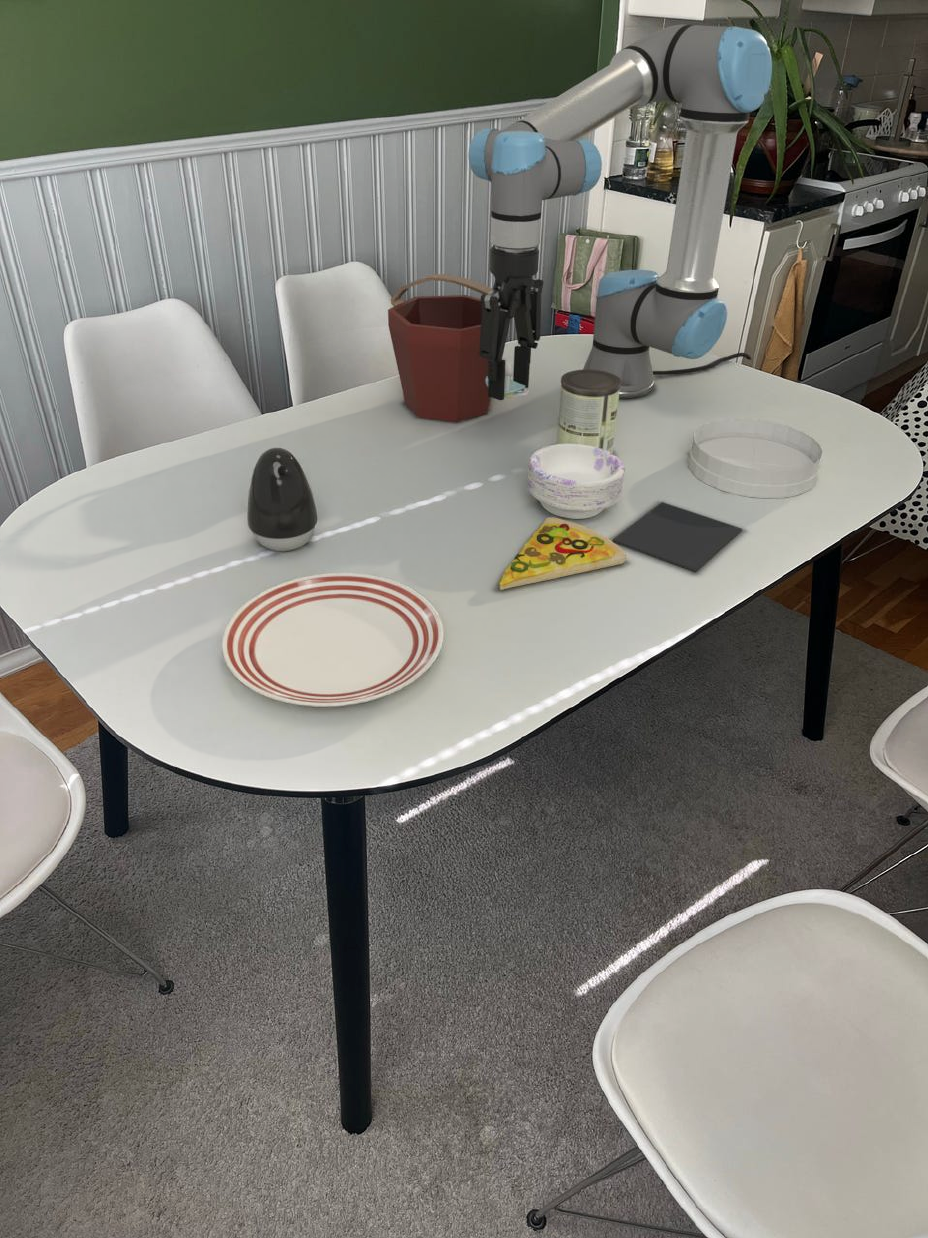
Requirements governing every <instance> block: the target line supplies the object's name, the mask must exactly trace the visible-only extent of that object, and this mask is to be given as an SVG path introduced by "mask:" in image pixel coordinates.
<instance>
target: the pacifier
mask: <svg viewBox="0 0 928 1238" xmlns="http://www.w3.org/2000/svg"><path fill="white" fill-rule="evenodd" d="M502 360H505V384H504V398H514V397H524V396H525V397H526V396H527V395H528V394H529V389H528V388H525V385H522V384H519V383H517V382H514V381H513V379H511V377H512V376H513V370H514V369H513V366H512V363H511V362H510V361H509V360H508V359H507V358H505V357H502ZM486 385H487V386H488V376H487V377H486Z"/></svg>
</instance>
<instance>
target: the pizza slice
mask: <svg viewBox="0 0 928 1238" xmlns="http://www.w3.org/2000/svg"><path fill="white" fill-rule="evenodd" d="M626 559H627V554H626V552H625V551H624V550H623V549H622V548H621V546H619V545H618V544H617V543H615V542H613V540H611V539H609V538H607V537H606V536H605V535H603V534H601V533H599V532H597V531H595V530H594V529H592V528H589V527H588V526H585V525H582V524H579V523H577V522H573V521H570V520H566V519H562V518H559V517H553V516H549V517H546V518H545V519H544V521H543V522H542V524H541V525H540V526H539V528H538V529H537V530H536V531H535V532H534V533H533V535H532V536H531V537H530V539H529V540H527V541H526V543H525V544H524V545H523V547H522V548H521V549H520V551H519V553H518V554H516V555H515V557H514V559H513V560H512V561H511V562H510V564H509V565H508V566H507V567H506V569H505V570H504V572H503V575H502V577H501V579H500V581H499V589H500V591H502V590H507V589H512V588H517V587H521V586H525V585H529V584H530V585H531V584H535V583H539V582H540V583H541V582H545V581H550V580H555V579H559V578H563V577H568V576H572V575H577V574H580V573H586V572H590V571H594V570H599V569H605V568H609V567H612V566H618V565H622V564H624V563H625V562H626Z"/></svg>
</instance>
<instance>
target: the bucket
mask: <svg viewBox="0 0 928 1238" xmlns="http://www.w3.org/2000/svg"><path fill="white" fill-rule="evenodd" d="M430 281H435V282H446V283H453V284H456V285H459V286H462V287H465V288H467V289H470V290H472V291H474V292H477V293H478V294H479V293H480V294H481V295H482V294H486V295H489V294H490V293H491V292H492V291H493V287H491V286H487V285H485V284H482V283H480V282H477V281H475V280H472V279H469V278H466V277H462V276H457V275H451V274H446V273H444V274H443V273H434V274H430V275H427V276H424V277H421V278H418V279H416V280H413V281H412V282H409V283H407V284H404V285H403V286H400V287H399V289H397V291H396V292H395V293H394V294H393V296H392V297H391V298H390V303H391V305H392V306H393V307H390V308H389V309H387V320H388V321H387V322H388V324H387V325H388V331H389V334H390V340H391V344H392V349H393V353H394V357H395V363H396V367H397V371H398V376H399V381H400V385H401V389H402V390H401V391H402V394H403V400H404V404H405V405H406V406H407V407H408V408H409V409H410V410H411V411H412V412H413V413H414V414H415V415H416V416H417V417H418V418H420V419H428V420H437V421H445V422H450V423H458V422H462V421H465V420H470V419H473V418H477V417H481V416H484V415H487V414H488V411H489V407H490V403H491V399H492V398H491V397H488V386H487V385H486V377H487V376H488V360H487V359H484V358H480V357H479V347H480V333H481V319H482V306H481V298H478V297H474V296H471V295H467V294H457V295H456V294H451V295H449V294H448V295H421V296H420V295H419V296H418V295H417V296H413V297H411V298H409V299H407V300H405V301H403V300H402V298H403V295H404V294H405V293H406V292H407V291H408V290H409V289H410V288H412V287H414V286H416V285H420V284H422V283H427V282H430ZM500 310H502V311H506V310H503V309H501V308H500ZM496 353H497V352H496Z"/></svg>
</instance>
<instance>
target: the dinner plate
mask: <svg viewBox="0 0 928 1238" xmlns="http://www.w3.org/2000/svg"><path fill="white" fill-rule="evenodd" d="M444 634H445V633H444V626H443V622H442V619H441V616H440V614H439V613H438V611H437V609H436V608H435V607H434V606H433V604H432V603H431V602H430V601H429V600H428V599H427V598H425V597H424V596H423V595H422V594H420V593H419V592H418V591H416V590H414V588H411V587H409V586H407V585H405V584H402V583H401V582H398V581H395V580H393V579H390V578H386V577H382V576H377V575H374V574H373V575H372V574H366V573H355V572H333V573H330V572H329V573H321V574H313V575H308V576H303V577H297V578H294V579H291V580H288V581H284V582H282V583H279V584H276V585H274V586H271V587H270V588H268V589H266V590H264V591H261V592H259V594H256V595H255V596H253V597H252V598H250V599H248V601H246V602H245V603H244V604H243V605H242V606H240V607H239V608H238V609H237V611H236V612H235V613H234V614H233V615H232V616H231V618H230V619H229V621H228V623H227V625H226V627H225V629H224V632H223V635H222V643H221V644H222V655H223V659H224V661H225V664H226V666H227V668H228V669H229V671H230V673H232V674H233V676H234V677H235V678H236V679H237V680H238V681H239V682H241V684H243V685H244V686H246V687H247V688H248V689H250V690H252V691H254V692H255V693H257V694H260V695H261V696H264V697H265V698H266V697H267V698H269V699H272V700H275V701H278V702H282V703H287V704H292V705H296V706H305V707H317V708H318V707H319V708H321V707H322V708H324V707H326V708H330V707H331V708H332V707H343V706H345V707H346V706H351V705H358V704H363V703H367V702H371V701H375V700H379V699H382V698H384V697H387V696H389V695H392V694H394V693H396V692H398V691H400V690H402V689H404V688H406V687H407V686H409V685H410V684H412V683H413V682H415V681H416V680H418V679H419V678H420V677H421V676H422V675H424V673H426V671H427V670H428V669H429V668H431V666H432V665H433V664H434V662H435V661H436V659H437V658H438V656H439V654H440V651H441V649H442V646H443V642H444V636H445V635H444Z"/></svg>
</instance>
